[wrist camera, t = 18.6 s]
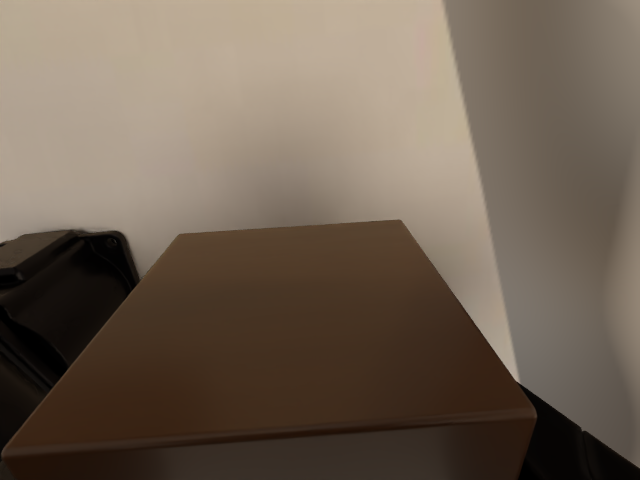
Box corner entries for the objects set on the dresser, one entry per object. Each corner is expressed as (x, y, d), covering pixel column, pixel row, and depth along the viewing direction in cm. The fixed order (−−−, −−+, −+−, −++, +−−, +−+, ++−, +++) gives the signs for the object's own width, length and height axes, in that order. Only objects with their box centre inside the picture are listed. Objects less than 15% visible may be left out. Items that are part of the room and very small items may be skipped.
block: (393, 381, 10) (471, 639, 5) (218, 393, 10) (142, 668, 5) (401, 217, 8) (543, 412, 3) (178, 232, 8) (-9, 455, 3)
